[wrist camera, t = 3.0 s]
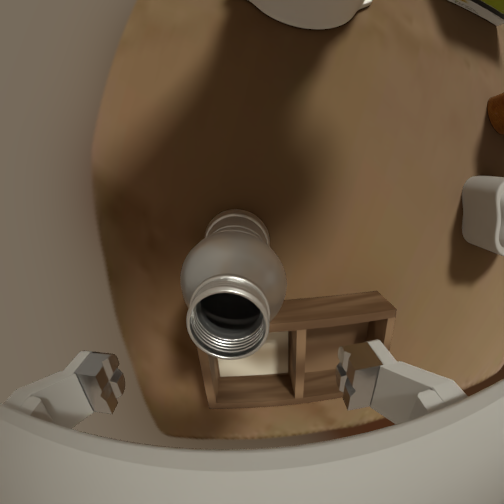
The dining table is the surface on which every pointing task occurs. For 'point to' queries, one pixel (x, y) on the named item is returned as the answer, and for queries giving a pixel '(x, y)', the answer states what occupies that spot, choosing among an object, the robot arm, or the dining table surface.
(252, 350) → the metal bottle
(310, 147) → the dining table surface
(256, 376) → the bottle carrier
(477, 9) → the tea box
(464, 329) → the dining table surface
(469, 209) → the lumpy-topped squat cylinder
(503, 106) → the disposable coffee cup
